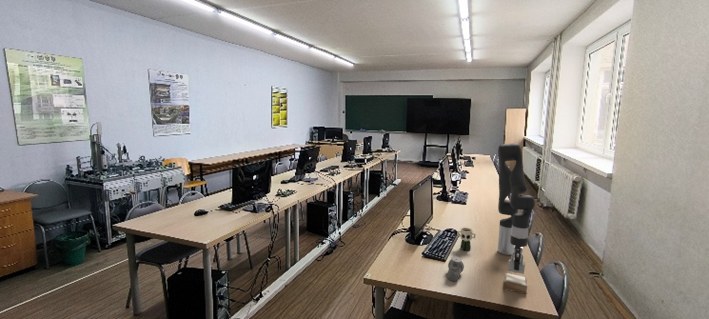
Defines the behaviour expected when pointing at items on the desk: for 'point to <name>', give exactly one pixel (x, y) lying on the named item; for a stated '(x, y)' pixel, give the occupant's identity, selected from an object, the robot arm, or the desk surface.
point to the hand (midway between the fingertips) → (516, 267)
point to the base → (515, 283)
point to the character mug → (466, 238)
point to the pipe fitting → (455, 268)
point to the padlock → (511, 265)
